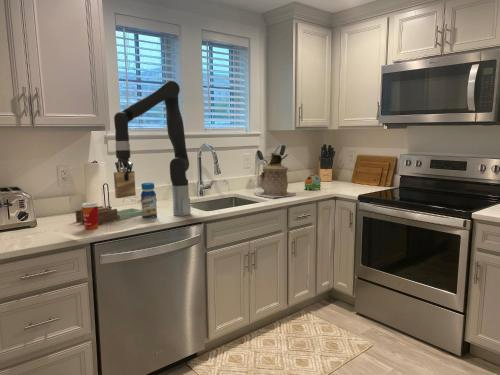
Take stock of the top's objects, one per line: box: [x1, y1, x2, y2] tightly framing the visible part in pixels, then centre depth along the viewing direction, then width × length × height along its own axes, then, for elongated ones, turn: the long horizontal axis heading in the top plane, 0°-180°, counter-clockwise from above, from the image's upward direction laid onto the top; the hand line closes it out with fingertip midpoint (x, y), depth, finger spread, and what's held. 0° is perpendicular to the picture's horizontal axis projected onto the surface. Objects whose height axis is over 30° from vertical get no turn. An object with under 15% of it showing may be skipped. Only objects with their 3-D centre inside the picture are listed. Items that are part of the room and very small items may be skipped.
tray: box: [117, 207, 142, 221], centre depth 211 cm, size 12×16×4 cm
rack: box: [75, 205, 119, 225], centre depth 198 cm, size 15×15×8 cm
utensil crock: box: [252, 152, 297, 200], centre depth 277 cm, size 25×25×32 cm
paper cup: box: [81, 201, 99, 231], centre depth 182 cm, size 8×8×14 cm
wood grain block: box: [113, 170, 137, 199], centre depth 208 cm, size 3×11×14 cm, turn 142°
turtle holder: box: [304, 174, 322, 192], centre depth 303 cm, size 12×18×12 cm
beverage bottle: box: [140, 182, 158, 220], centre depth 207 cm, size 8×8×20 cm
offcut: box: [98, 206, 107, 212], centre depth 197 cm, size 2×10×6 cm, turn 143°
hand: (124, 180), depth 208 cm, fingers closed on wood grain block, 3 cm apart
